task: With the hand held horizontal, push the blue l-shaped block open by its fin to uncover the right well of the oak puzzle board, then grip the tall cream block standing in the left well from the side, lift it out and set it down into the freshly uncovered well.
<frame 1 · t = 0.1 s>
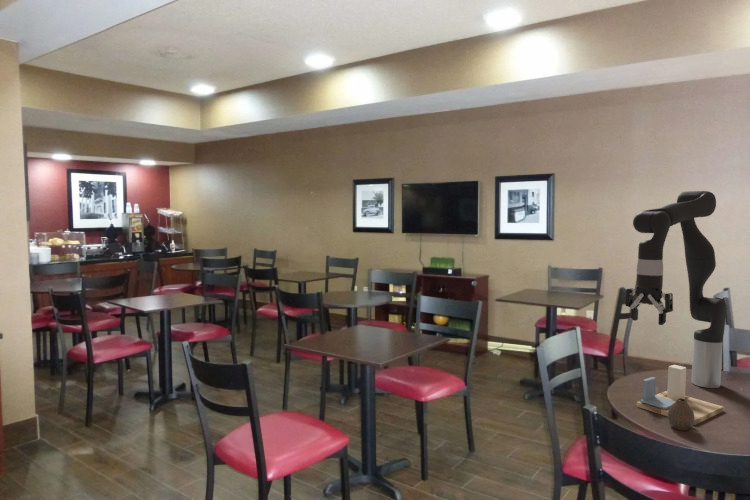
hand: (647, 322, 167), 29 cm above the table, tool pointing down, fingers open, 8 cm apart
blue l-shaped block: (659, 392, 168), point 6 cm above the table, slide at 0.0 cm
vase: (680, 428, 155), on the table
puzzle board: (679, 410, 169), on the table
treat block: (675, 401, 175), resting on puzzle board
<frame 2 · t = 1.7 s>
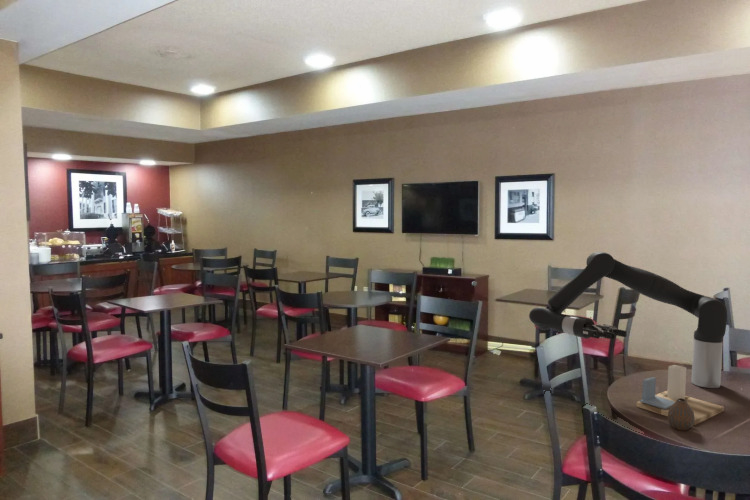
hand: (620, 335, 179), 22 cm above the table, tool horizontal, fingers open, 6 cm apart
nothing on the table moved.
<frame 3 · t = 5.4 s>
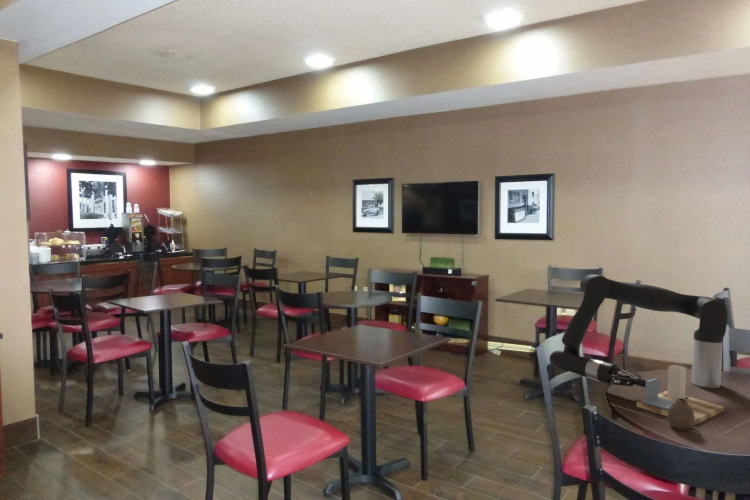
hand: (650, 385, 171), 7 cm above the table, tool horizontal, fingers closed
blue l-shaped block: (662, 393, 168), point 6 cm above the table, slide at 0.9 cm, touching gripper
everything else where it was.
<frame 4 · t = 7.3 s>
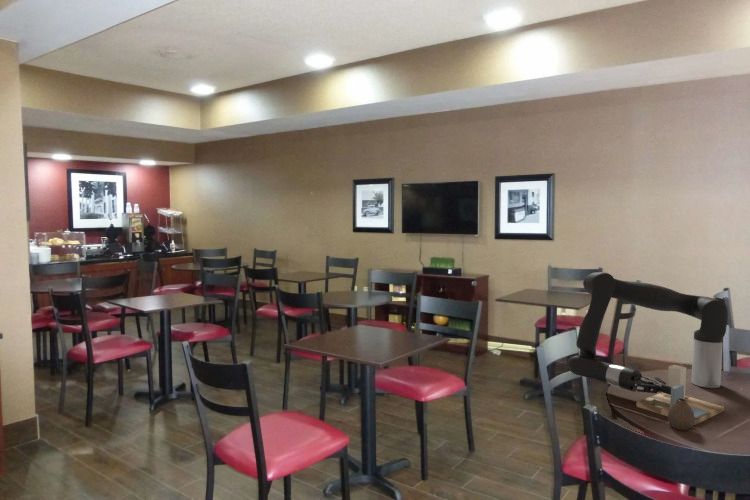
hand: (675, 392, 164), 7 cm above the table, tool horizontal, fingers closed
blue l-shaped block: (688, 400, 161), point 6 cm above the table, slide at 9.0 cm, touching gripper
everything else where it was.
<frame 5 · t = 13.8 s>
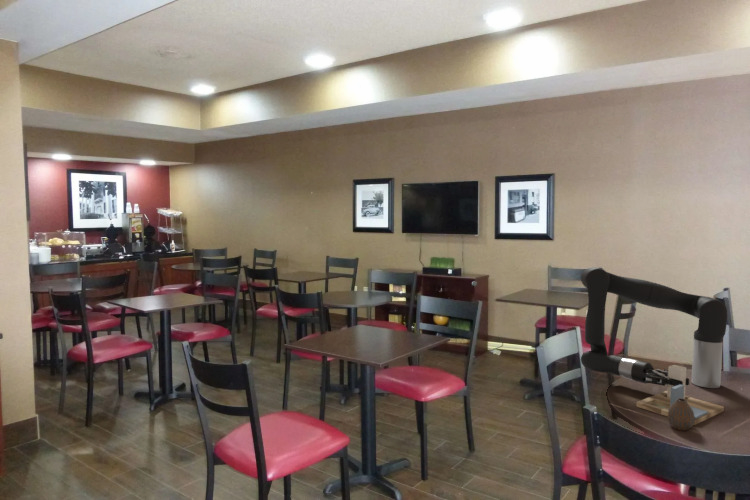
hand: (685, 383, 173), 8 cm above the table, tool horizontal, fingers closed on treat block, 4 cm apart
blue l-shaped block: (688, 400, 161), point 6 cm above the table, slide at 9.0 cm
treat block: (675, 401, 175), point 1 cm above the table, touching gripper, puzzle board
everything else where it was.
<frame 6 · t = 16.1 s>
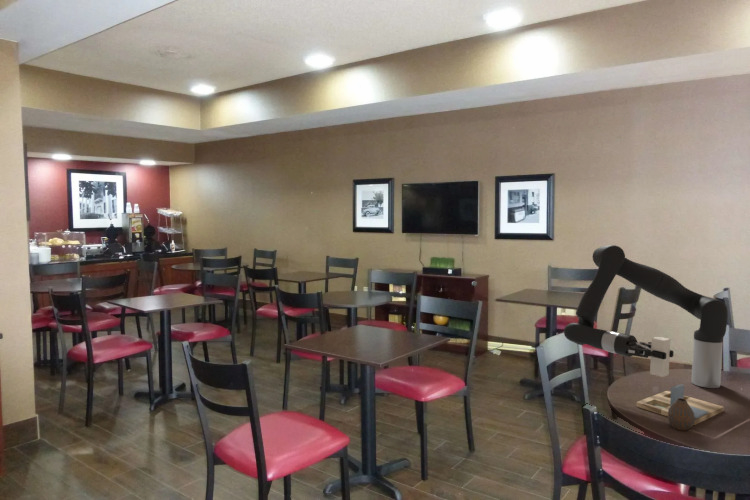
hand: (669, 355, 165), 19 cm above the table, tool horizontal, fingers closed on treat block, 4 cm apart
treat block: (659, 374, 168), point 12 cm above the table, touching gripper
everything else where it was.
when the fingers open (9 cm above the table, at t = 18.3 s): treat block drops 1 cm, resting on puzzle board.
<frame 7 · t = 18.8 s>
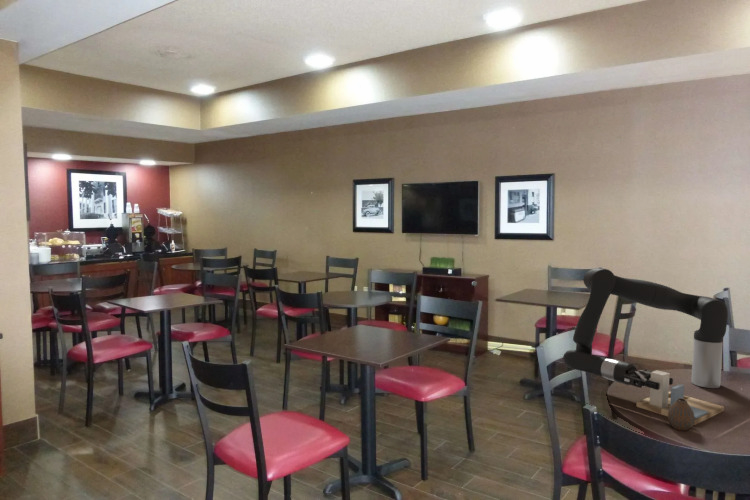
hand: (665, 384, 167), 9 cm above the table, tool horizontal, fingers open, 8 cm apart
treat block: (658, 408, 169), resting on puzzle board
everything else where it was.
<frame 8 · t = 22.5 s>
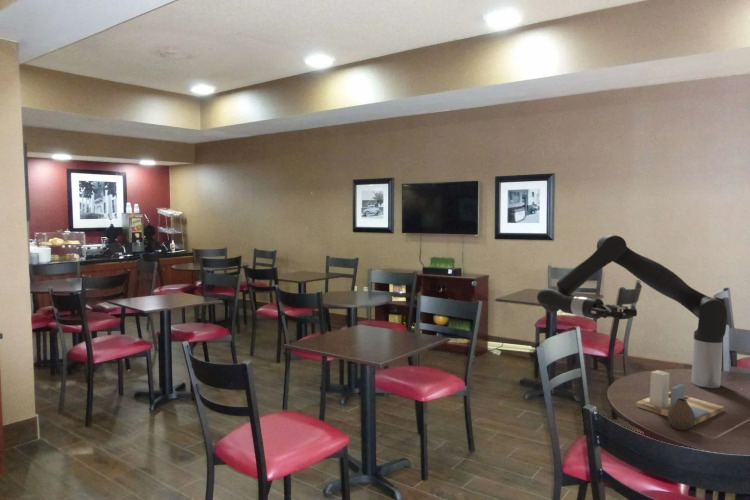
hand: (629, 314, 176), 30 cm above the table, tool horizontal, fingers open, 8 cm apart
nothing on the table moved.
at the end: blue l-shaped block slide at 9.0 cm; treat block 0.0 cm from the target spot, point 0.5 cm above the table; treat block tilted 0° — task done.
